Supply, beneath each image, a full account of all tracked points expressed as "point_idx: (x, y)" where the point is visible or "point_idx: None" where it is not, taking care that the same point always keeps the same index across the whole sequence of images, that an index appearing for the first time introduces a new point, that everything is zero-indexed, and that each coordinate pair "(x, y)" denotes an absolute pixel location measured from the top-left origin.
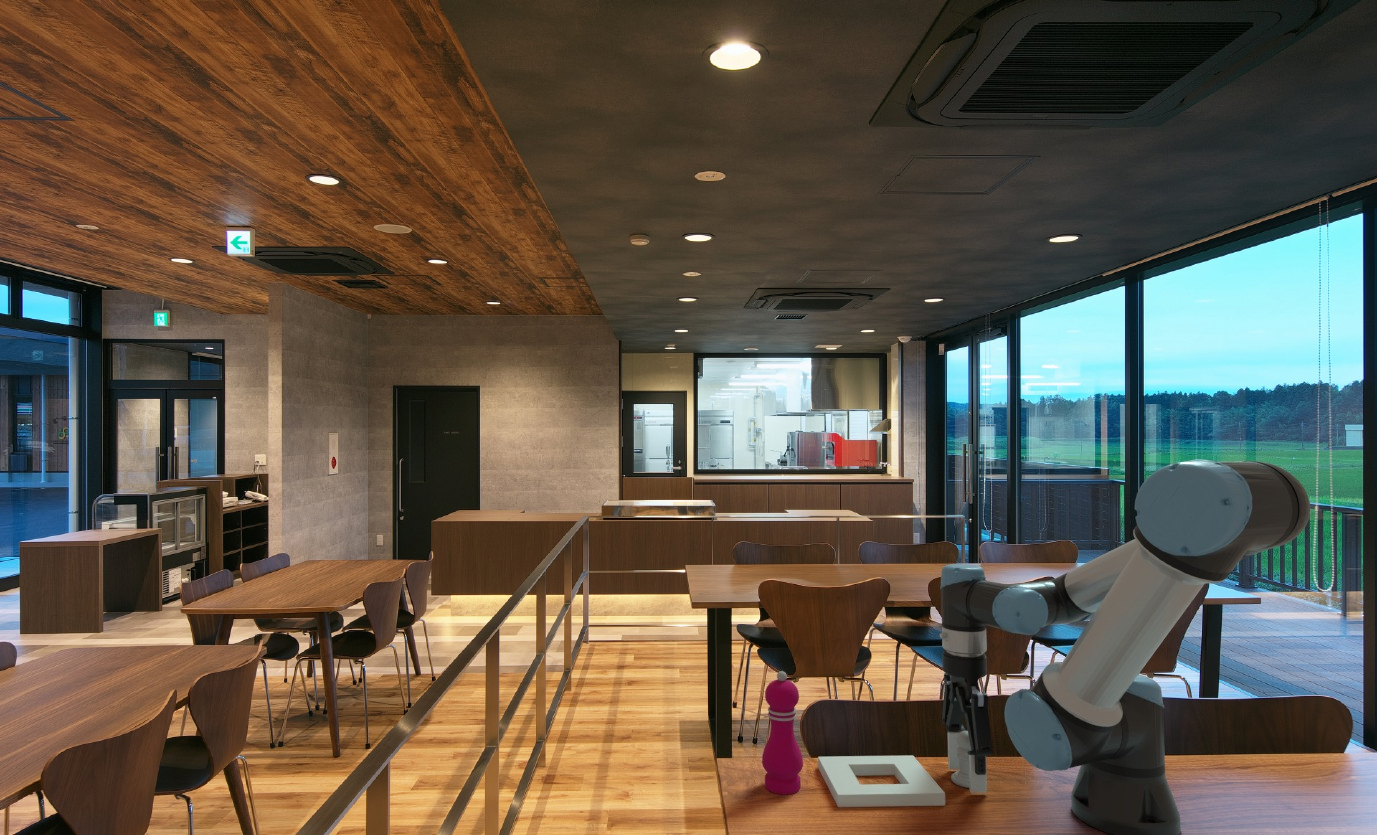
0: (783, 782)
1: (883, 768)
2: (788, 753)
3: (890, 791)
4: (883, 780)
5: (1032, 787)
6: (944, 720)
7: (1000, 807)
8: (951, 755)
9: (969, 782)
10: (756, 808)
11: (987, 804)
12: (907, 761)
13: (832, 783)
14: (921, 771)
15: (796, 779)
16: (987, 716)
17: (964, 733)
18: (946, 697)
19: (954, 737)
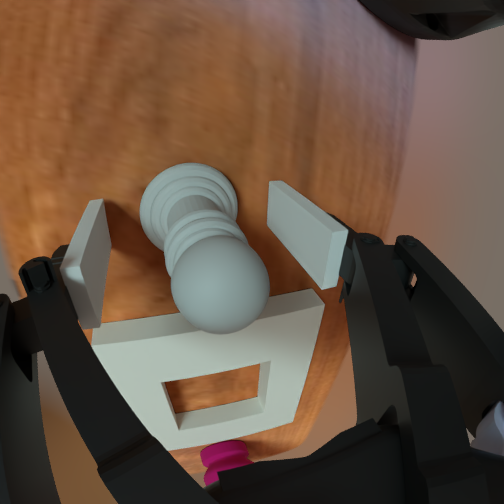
0: (246, 457)
1: (164, 388)
2: None
3: (296, 380)
4: None
5: (232, 14)
6: (36, 359)
7: (340, 171)
8: (105, 263)
9: (233, 218)
10: (274, 448)
11: (322, 196)
12: (138, 360)
13: (256, 432)
14: (202, 339)
15: (238, 453)
16: (500, 337)
17: (249, 323)
18: (53, 482)
19: (95, 294)
